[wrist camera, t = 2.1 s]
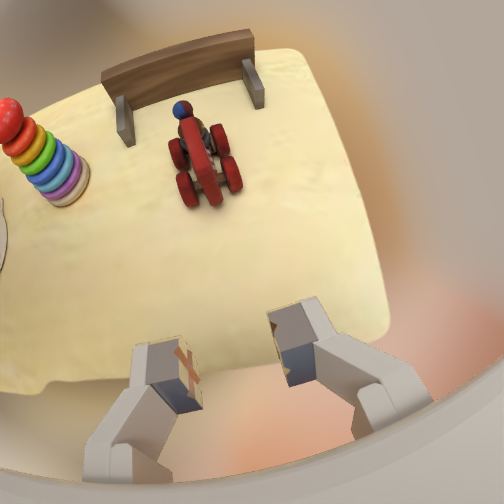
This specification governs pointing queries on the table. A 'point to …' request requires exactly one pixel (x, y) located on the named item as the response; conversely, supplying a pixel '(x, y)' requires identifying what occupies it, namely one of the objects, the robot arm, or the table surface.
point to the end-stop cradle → (181, 74)
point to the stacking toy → (41, 156)
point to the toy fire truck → (201, 157)
